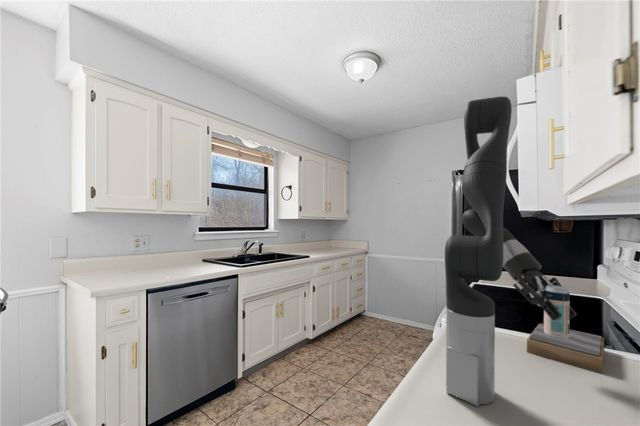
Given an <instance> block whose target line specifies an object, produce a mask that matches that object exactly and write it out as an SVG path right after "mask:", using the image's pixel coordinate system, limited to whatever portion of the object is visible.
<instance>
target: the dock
mask: <svg viewBox="0 0 640 426" xmlns="http://www.w3.org/2000/svg"><path fill="white" fill-rule="evenodd" d="M526 353H530V354H532V355H537V356H540V357H543V358H548V359H551V360H554V361H558V362H560V363H565V364H568V365H571V366H575V367H579V368H582V369H584V370H585V369H586V370H589V371H593V372H595V373H600V374H603V365H604V356H605V355H604V354H605V337H604V338H603V337H602V336H601V335H597V334H593V333H587V332H583V331H579V330H574V329H570V337H569V338H567V339H557V338H553V337H550V336H548V335H547V334H546V333H544V323H541V322H540V323H538V324H537V325H536V327H535V328H534V330H533V331H531V333H530V335H529V336H528V337H527V339H526Z"/></svg>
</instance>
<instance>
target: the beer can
mask: <svg viewBox="0 0 640 426" xmlns="http://www.w3.org/2000/svg"><path fill="white" fill-rule="evenodd" d="M544 289H545V291H546V293H545V295H546V296H547V298H548V300H549V301H548V302H551V303H552V304H553V306H554V307H555V308H556V309H557V310H558V311H559V313H560V314H561V315H562V317H561V318H559V319H557V320H552V319H551V318H550V317H549V315H548V314H547V313H546V312H545V311H544V310H543V324H544V333H546V334H547V335H548V336H550V337H553V338H557V339H567V338H569V337H570V330H571V329H570V327H571V325H570V319H571V318H570V306H571V305H570V304H571V303H570V302H571V299H570V297H571V296H570V294H571V293H570V291H569V289H568V287H565V286H562V285H561V286H556V285H546V287H545V288H544Z"/></svg>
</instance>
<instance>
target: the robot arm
mask: <svg viewBox="0 0 640 426" xmlns="http://www.w3.org/2000/svg"><path fill="white" fill-rule="evenodd" d="M512 110H513V109H512V102H511V99H510V98H509V97H507V96H493V97H486V98H481V99H480V98H479V99H474V100H470V101H468V102H467V103H466V106H465V108H464V114H463V115H464V116H463V117H464V118H463V126H464V127H463V128H464V137H465V138H464V139H465V151H466V157H467V161H466V162H465V164H464V167H463V174H462V175H463V176H462V183H461V190H462V193H463V196H464V197H465V199H466V201H467V202H468V203H469V205H470V206H471V207H472V208H470V209H467V210H466V211H464V212H463V214H462V216H461V218H462V219H461V220H462V224H463V226H464V227H465V228H466V230H468V232H470V233H471V234H472V235H450V236H449V237H448V238H447V240H446V242H445V247H444V270H445V296H446V298H445V300H446V316H445V318H446V323H445V324H446V325H445V326H446V327H445V329H446V330H445V333H446V334H445V337H446V339H445V367H446V368H445V387H446V386H447V387H446V393H447V394H448V393H449V394H448V395H450V394H452V395H451V396H453V395H454V396H453V397H455V396H456V397H455V398H457V397H459V398H461V399H460V400H462V399H463V400H462V401H464V400H465V401H464V402H466V401H467V403H468V402H469V404H471V405H473V406H475V407H480V406H481V405H487V404H492V403H493V402H494V401H495V397H496V395H495V394H496V392H495V390H496V386H495V384H496V382H495V380H496V379H495V377H496V376H495V375H496V374H495V373H496V372H495V369H496V366H495V364H496V363H495V362H496V360H495V359H496V358H495V355H496V353H495V346H496V345H495V344H496V343H495V340H496V339H495V338H496V337H495V333H496V332H495V331H496V325H495V324H496V321H495V320H496V317H495V316H496V304H495V301H494V300H493V299H492V298H491V297H489V296H488V295H486V294H484V293H482V292H479V290H476V289H474V288H473V287H471V286H470V285H469V284H468V283H467V282H466V281H465V279H469V280H477V281H484V282H497V281H498V280H500V278H501V277H502V273H503V269H504V270H505V271H506V272H507V273H508V274H509V276H510V277H511V279H513V281H516V282H515V283H513V287H514V288H515V289H516V290H517V292H519V293H520V294H521V295H522V296H523V297H524V298H525V299H526V300H527V301H528V302H529V303H530V304H531V305H533V306H534V305H537V306H538V307H541V308H542V309H543V312H544V311H545V312H546V313H547V314H548V315H549V317H550V318H551V319H552V320H557V319H559V318H561V317H562V315H561V314H560V313H559V311H558V310H557V309H556V308H555V307H554V306H553V304H552V303H551V302H548V301H549V300H548V298H547V296H546V295H545V293H546V291H545V289H544V288H545V287H546V285H556V286H562V284H561V283H560V281H559V280H558V279H557V278H556V277H554V276H553V277H551V278H548V277H547V276H546V275H544V274H543V273H542V271H541V269H542V264H541V263H540V262H539V261H538V260H537V259H536V258H535V257H534V256H533V255H532V254H531V252H530V251H529V250H528V249H527V248H526V247H525V246H524V244H522V243H521V242H519V241H518V240H517V238H515V236H514V235H513V234H512V233H511V232H510V231H509V230H508V229H507V228H506V227H504V206H505V196H506V194H505V193H506V186H507V175H508V173H507V171H508V170H507V169H508V167H507V166H508V162H507V161H508V142H509V141H508V140H509V134H510V133H509V132H510V128H511V127H510V126H511V121H512V120H511V119H512ZM479 134H482V135H484V134H491V135H490V136H489V137H488V139H487V140H486V141H485V142H484V143H483V144H482V145H481V146H480V144H479V139H478V135H479ZM577 315H578V314H577V312H576V311H575V310H574V308H573V307H572V306H571V305H570V319H572V318H574V317H576V316H577ZM459 398H458V399H459Z"/></svg>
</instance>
